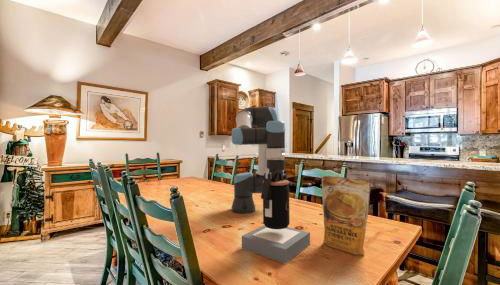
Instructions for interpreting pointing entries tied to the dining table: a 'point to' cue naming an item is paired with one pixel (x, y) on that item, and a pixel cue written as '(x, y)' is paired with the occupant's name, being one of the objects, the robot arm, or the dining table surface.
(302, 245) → the stand
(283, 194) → the coffee jar
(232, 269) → the dining table surface
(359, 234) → the pancake mix bag
